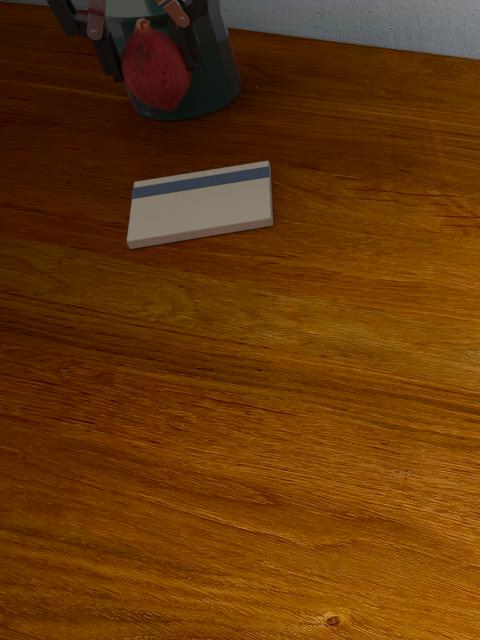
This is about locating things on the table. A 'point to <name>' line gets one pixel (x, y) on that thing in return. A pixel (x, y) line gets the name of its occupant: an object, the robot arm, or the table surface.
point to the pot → (206, 82)
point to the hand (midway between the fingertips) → (156, 71)
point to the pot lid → (134, 11)
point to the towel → (200, 204)
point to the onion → (154, 67)
